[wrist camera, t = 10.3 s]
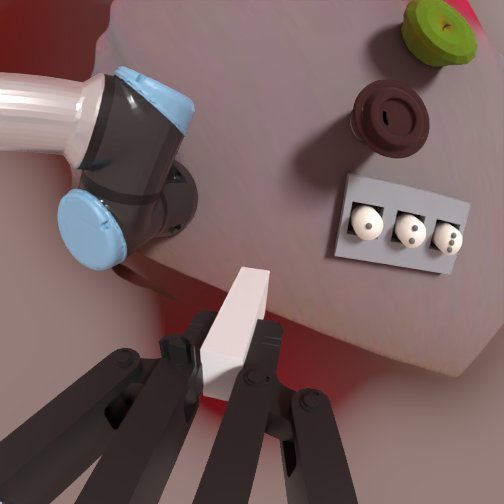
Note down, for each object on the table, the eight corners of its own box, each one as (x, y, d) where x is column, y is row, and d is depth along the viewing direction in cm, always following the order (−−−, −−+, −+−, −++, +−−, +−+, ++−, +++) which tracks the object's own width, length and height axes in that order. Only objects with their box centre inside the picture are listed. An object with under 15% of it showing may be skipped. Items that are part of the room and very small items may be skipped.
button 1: (347, 229, 46) (351, 238, 41) (353, 201, 44) (357, 208, 40) (373, 233, 45) (379, 243, 41) (379, 207, 43) (386, 214, 39)
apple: (464, 56, 28) (494, 43, 18) (429, 85, 33) (458, 74, 23) (417, 5, 27) (438, -19, 16) (379, 32, 32) (396, 6, 21)
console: (333, 250, 48) (334, 255, 46) (347, 172, 43) (349, 174, 41) (445, 269, 45) (450, 274, 43) (464, 200, 39) (470, 204, 37)
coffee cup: (406, 113, 37) (445, 105, 23) (385, 163, 41) (416, 174, 27) (354, 85, 37) (373, 62, 23) (332, 136, 41) (343, 133, 28)
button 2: (390, 236, 44) (397, 246, 40) (396, 210, 43) (404, 217, 38) (413, 240, 44) (422, 250, 40) (419, 215, 42) (429, 223, 38)
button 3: (428, 243, 43) (437, 253, 39) (434, 218, 41) (445, 226, 37) (447, 247, 43) (458, 258, 38) (454, 223, 41) (466, 232, 36)
